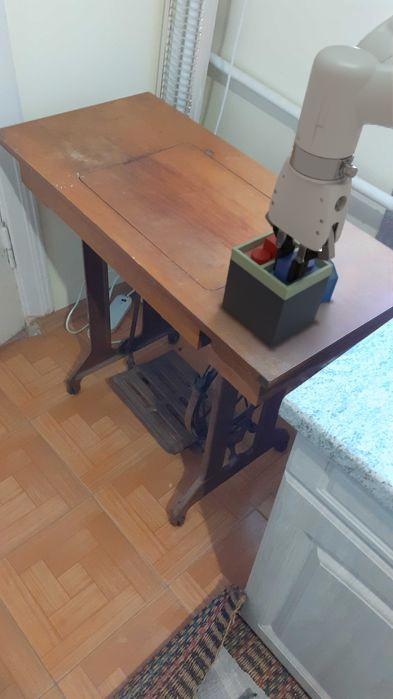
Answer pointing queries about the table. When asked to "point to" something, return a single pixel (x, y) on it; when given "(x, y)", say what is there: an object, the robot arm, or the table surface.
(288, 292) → the organiser
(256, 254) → the red block with cylinder
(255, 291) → the riser
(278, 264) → the blue block
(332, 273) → the perfume bottle
